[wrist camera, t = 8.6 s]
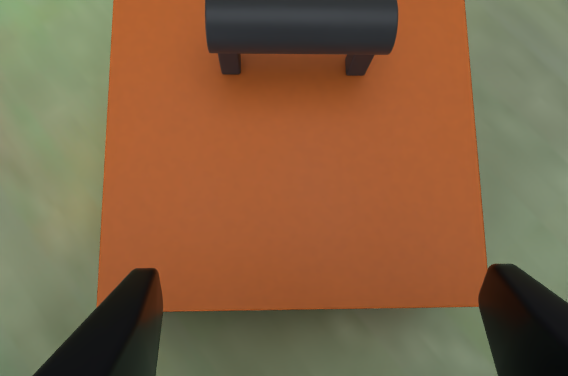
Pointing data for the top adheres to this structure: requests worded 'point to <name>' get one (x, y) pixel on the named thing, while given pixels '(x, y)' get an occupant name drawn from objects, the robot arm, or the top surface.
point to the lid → (293, 154)
